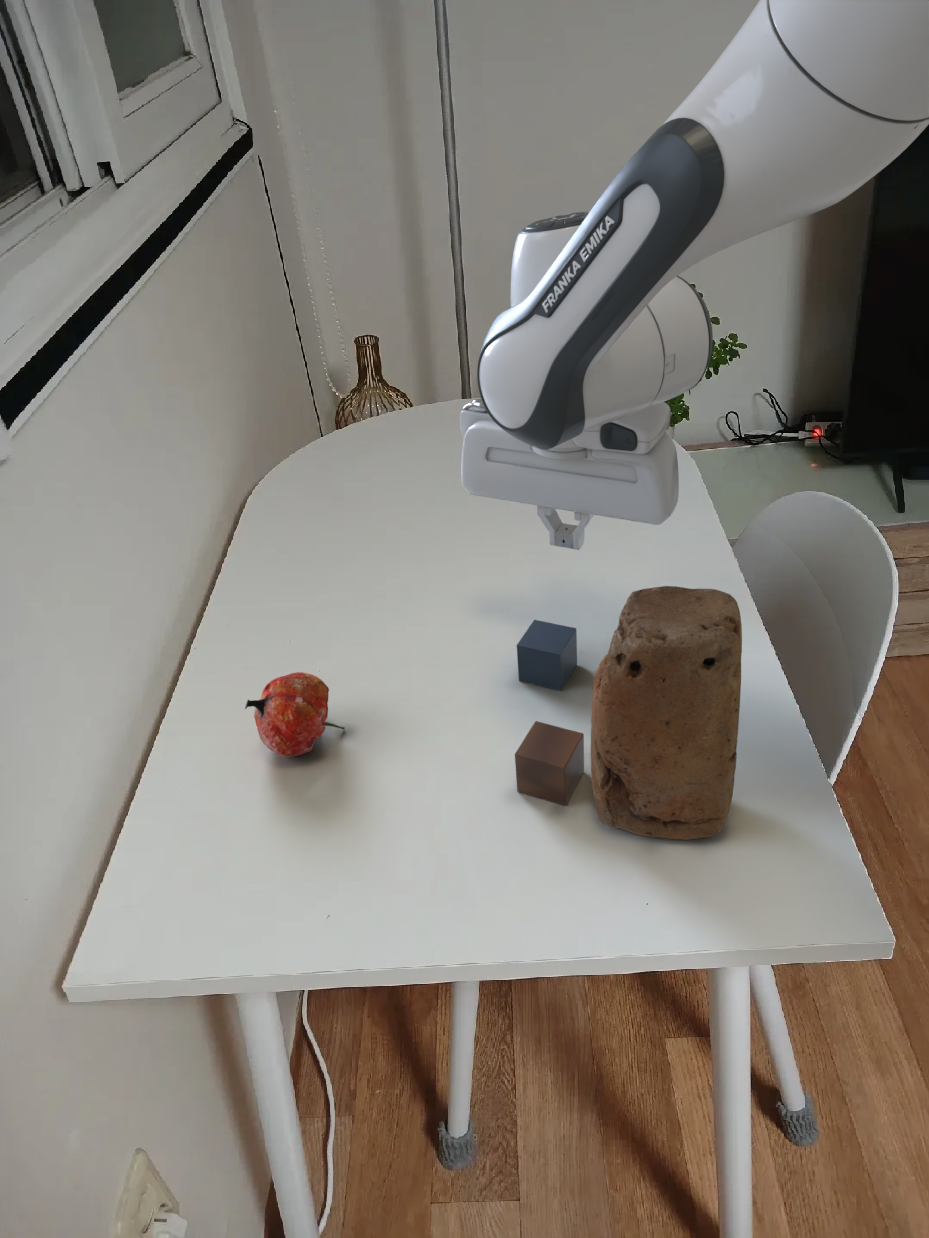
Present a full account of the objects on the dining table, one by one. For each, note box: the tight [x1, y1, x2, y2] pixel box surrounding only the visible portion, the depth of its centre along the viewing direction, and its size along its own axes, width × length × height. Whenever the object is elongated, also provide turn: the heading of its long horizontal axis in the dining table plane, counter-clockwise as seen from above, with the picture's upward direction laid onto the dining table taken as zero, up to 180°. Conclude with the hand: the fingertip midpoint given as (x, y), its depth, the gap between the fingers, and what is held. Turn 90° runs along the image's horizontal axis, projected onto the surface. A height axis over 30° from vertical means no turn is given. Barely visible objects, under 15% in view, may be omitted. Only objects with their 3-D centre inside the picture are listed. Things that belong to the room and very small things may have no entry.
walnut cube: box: [514, 720, 585, 807], centre depth 80 cm, size 4×4×4 cm
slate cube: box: [516, 619, 578, 691], centre depth 92 cm, size 4×4×4 cm
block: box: [590, 585, 743, 840], centre depth 72 cm, size 11×8×20 cm
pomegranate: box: [244, 671, 346, 758], centre depth 86 cm, size 7×7×10 cm
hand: (566, 545), depth 91 cm, fingers closed
